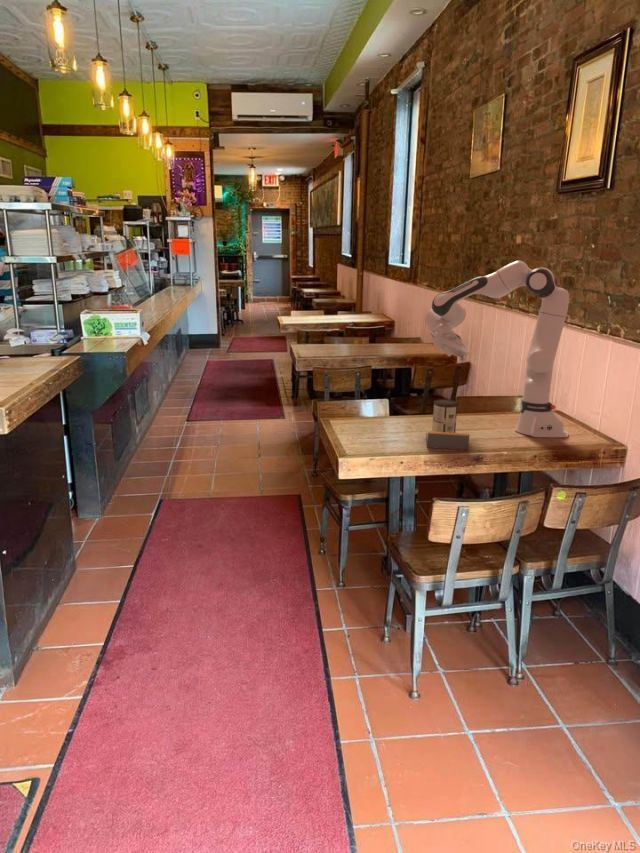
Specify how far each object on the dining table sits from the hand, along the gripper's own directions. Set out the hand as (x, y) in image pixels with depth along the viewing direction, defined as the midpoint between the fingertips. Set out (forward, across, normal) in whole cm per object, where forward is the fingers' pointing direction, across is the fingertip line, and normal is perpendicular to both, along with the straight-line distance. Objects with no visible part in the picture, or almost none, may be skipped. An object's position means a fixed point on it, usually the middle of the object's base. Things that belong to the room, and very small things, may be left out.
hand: (457, 357), depth 274 cm
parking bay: (+34, -7, +21) cm, 40 cm away
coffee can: (+22, +3, +25) cm, 34 cm away
